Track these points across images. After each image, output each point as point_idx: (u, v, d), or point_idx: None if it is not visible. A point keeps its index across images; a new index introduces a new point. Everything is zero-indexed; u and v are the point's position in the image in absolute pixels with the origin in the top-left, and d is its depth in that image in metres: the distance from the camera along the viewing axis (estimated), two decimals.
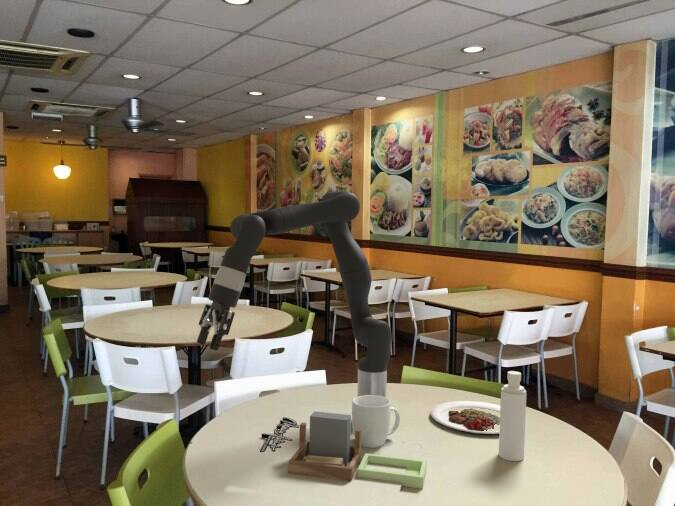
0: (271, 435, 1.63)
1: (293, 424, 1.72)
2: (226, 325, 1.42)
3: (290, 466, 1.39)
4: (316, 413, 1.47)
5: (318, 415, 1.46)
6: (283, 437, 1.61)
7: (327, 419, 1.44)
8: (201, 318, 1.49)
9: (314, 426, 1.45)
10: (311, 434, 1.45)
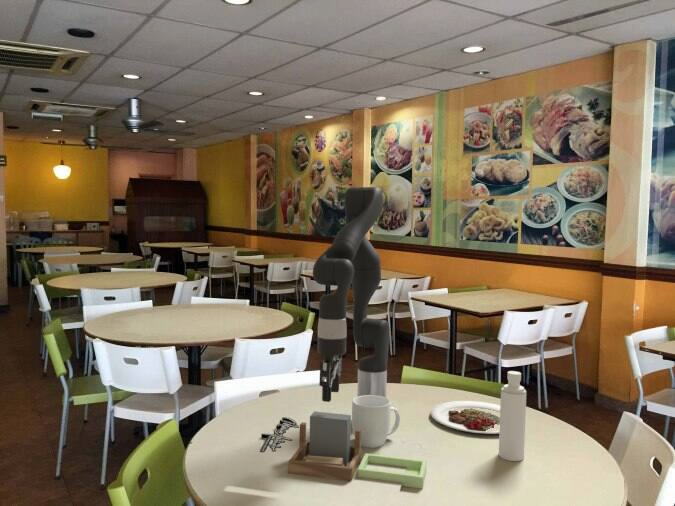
0: (271, 435, 1.63)
1: (293, 424, 1.72)
2: (333, 375, 1.41)
3: (290, 466, 1.39)
4: (316, 413, 1.47)
5: (318, 415, 1.46)
6: (283, 437, 1.61)
7: (327, 419, 1.44)
8: None
9: (314, 426, 1.45)
10: (311, 434, 1.45)
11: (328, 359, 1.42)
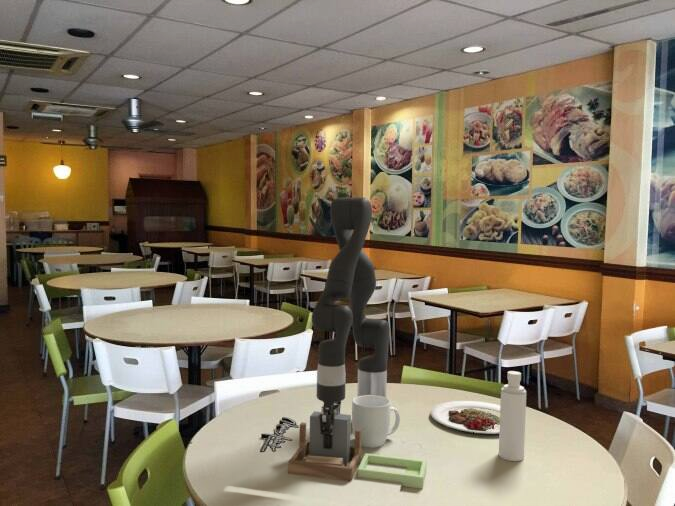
0: (271, 435, 1.63)
1: (293, 424, 1.72)
2: (333, 423, 1.43)
3: (290, 466, 1.39)
4: (316, 413, 1.47)
5: (318, 415, 1.46)
6: (283, 437, 1.61)
7: None
8: None
9: (314, 426, 1.45)
10: (311, 434, 1.45)
11: (327, 406, 1.42)
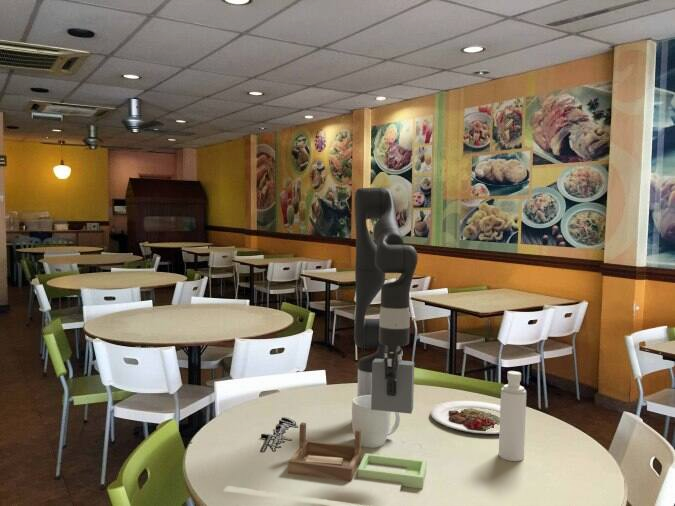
0: (271, 435, 1.63)
1: (292, 424, 1.72)
2: (397, 369, 1.36)
3: (290, 466, 1.39)
4: (378, 360, 1.41)
5: (380, 361, 1.39)
6: (283, 437, 1.61)
7: None
8: None
9: (376, 372, 1.38)
10: (373, 381, 1.39)
11: (392, 350, 1.35)
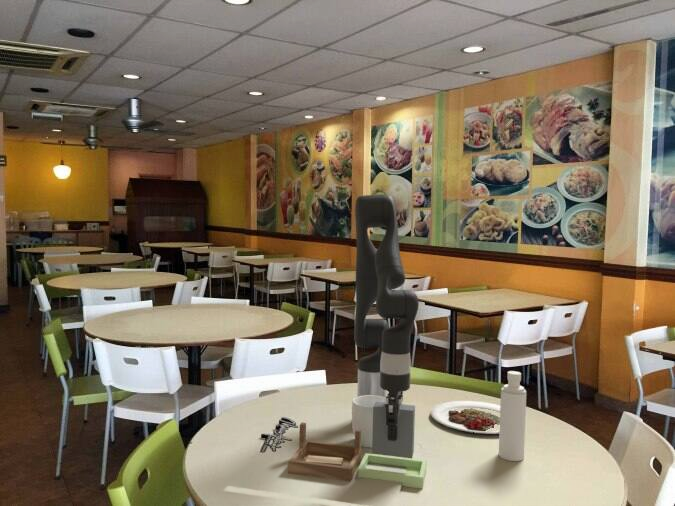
0: (271, 435, 1.63)
1: (292, 424, 1.72)
2: (398, 414, 1.37)
3: (290, 466, 1.39)
4: (379, 403, 1.41)
5: (381, 405, 1.40)
6: (283, 437, 1.61)
7: None
8: None
9: (377, 417, 1.39)
10: (374, 426, 1.39)
11: (393, 395, 1.36)
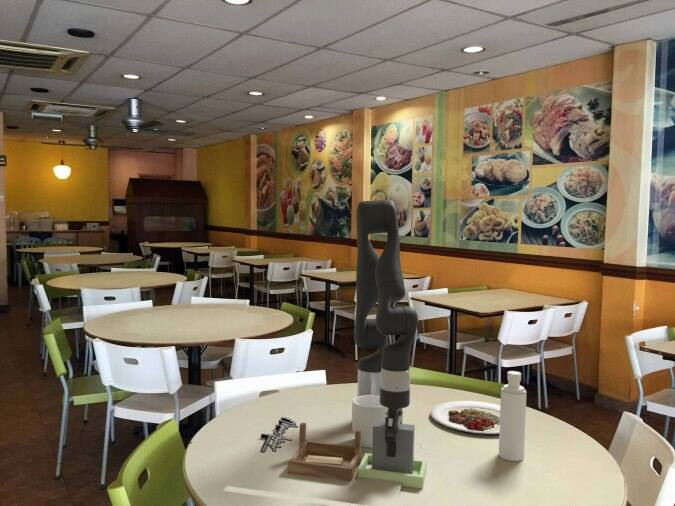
0: (270, 435, 1.63)
1: (292, 424, 1.72)
2: (398, 429, 1.36)
3: (290, 466, 1.39)
4: (378, 423, 1.42)
5: (381, 425, 1.40)
6: (283, 437, 1.61)
7: None
8: None
9: (377, 436, 1.39)
10: (374, 445, 1.40)
11: (392, 412, 1.36)
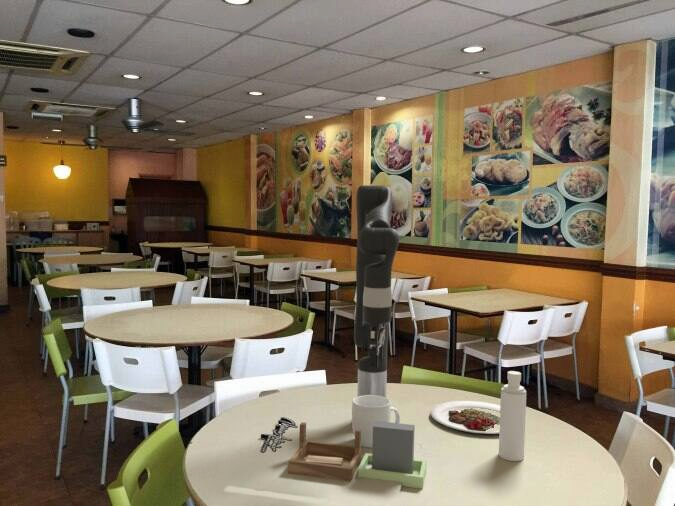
0: (270, 435, 1.63)
1: (292, 424, 1.72)
2: (380, 343, 1.43)
3: (290, 466, 1.39)
4: (378, 423, 1.42)
5: (381, 425, 1.40)
6: (283, 437, 1.61)
7: (391, 429, 1.38)
8: None
9: (377, 436, 1.39)
10: (374, 445, 1.40)
11: (375, 327, 1.43)
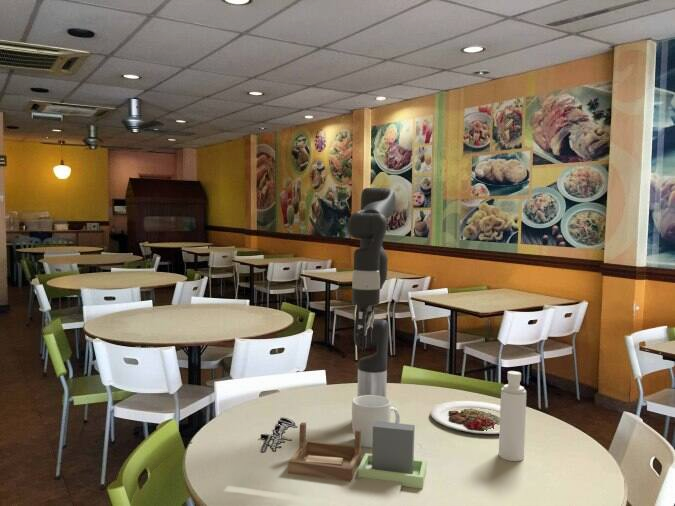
0: (270, 435, 1.62)
1: (291, 424, 1.72)
2: (368, 324, 1.48)
3: (290, 466, 1.39)
4: (378, 423, 1.42)
5: (381, 425, 1.40)
6: (282, 437, 1.61)
7: (391, 429, 1.38)
8: None
9: (377, 436, 1.39)
10: (374, 445, 1.40)
11: (363, 309, 1.48)
